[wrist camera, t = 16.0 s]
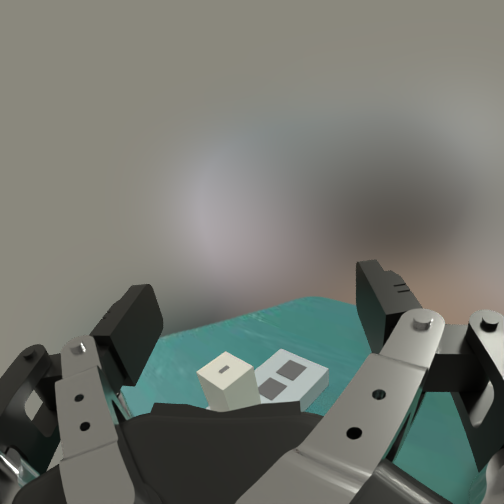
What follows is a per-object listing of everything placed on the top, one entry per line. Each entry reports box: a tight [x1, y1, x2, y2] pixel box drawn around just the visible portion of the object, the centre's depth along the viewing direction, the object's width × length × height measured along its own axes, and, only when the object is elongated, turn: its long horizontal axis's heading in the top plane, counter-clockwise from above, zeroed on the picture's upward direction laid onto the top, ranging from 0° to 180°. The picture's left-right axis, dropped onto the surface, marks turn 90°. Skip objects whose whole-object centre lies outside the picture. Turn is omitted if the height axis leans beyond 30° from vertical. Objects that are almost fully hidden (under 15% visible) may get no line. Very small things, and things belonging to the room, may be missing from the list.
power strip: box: [206, 349, 329, 412], centre depth 39 cm, size 20×9×4 cm, turn 136°
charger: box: [196, 351, 261, 412], centre depth 35 cm, size 4×4×12 cm
